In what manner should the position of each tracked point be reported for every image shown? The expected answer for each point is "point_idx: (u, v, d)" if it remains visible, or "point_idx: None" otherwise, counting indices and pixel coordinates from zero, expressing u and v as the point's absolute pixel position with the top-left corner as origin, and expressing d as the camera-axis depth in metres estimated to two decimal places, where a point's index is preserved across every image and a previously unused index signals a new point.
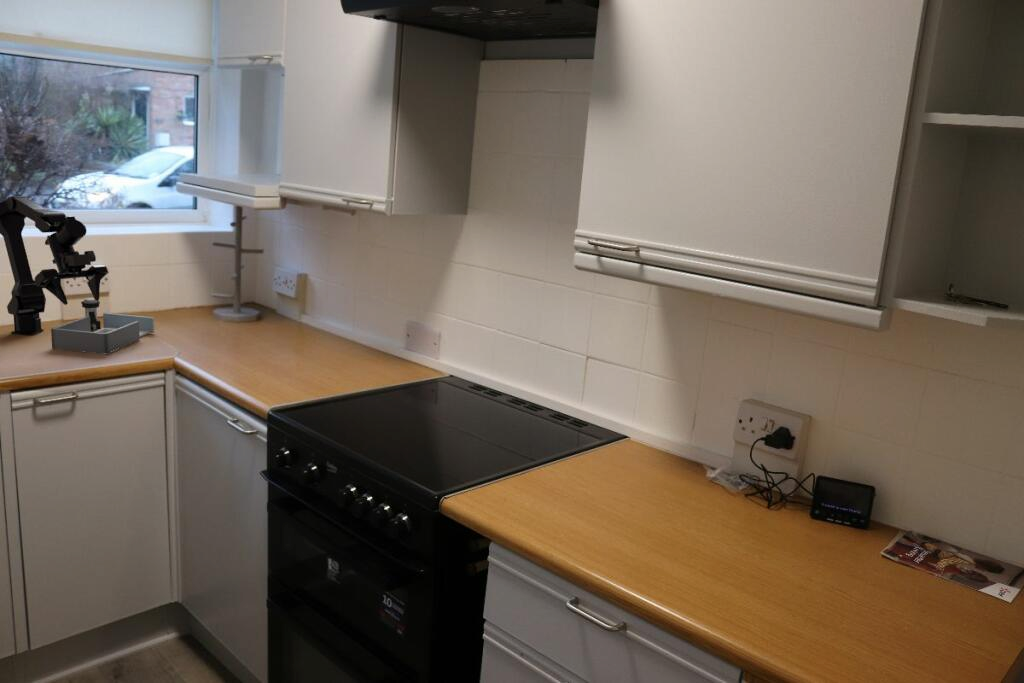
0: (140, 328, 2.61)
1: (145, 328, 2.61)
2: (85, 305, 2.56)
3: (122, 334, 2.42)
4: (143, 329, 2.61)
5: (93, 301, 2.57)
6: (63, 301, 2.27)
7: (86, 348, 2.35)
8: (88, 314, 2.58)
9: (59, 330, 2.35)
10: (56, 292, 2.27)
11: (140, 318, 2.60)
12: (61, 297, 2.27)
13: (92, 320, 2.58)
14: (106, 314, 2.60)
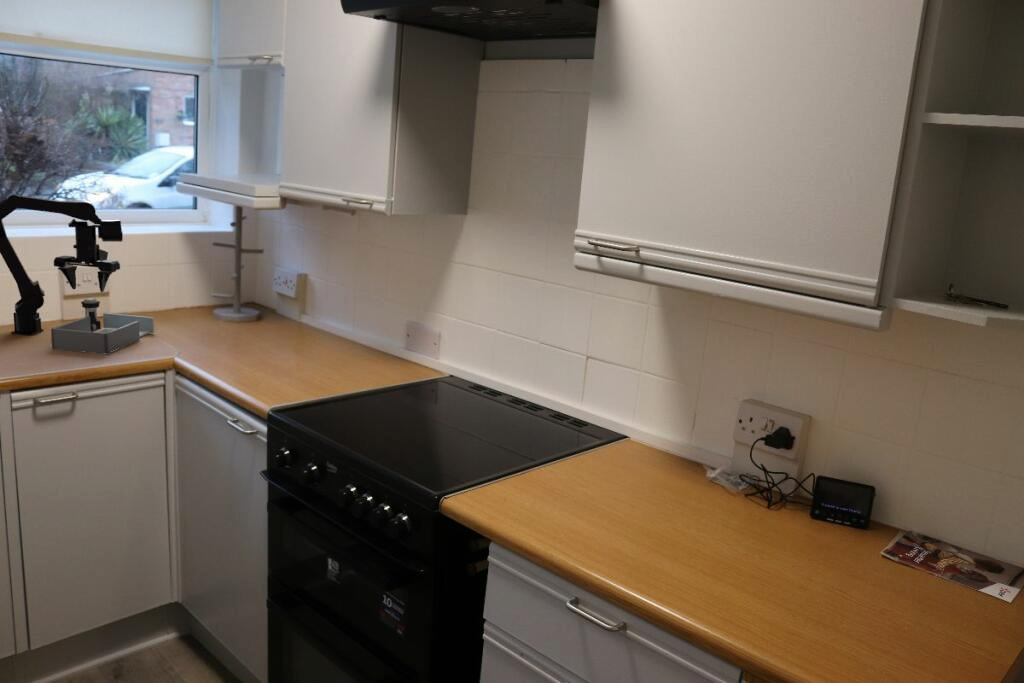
0: (140, 328, 2.61)
1: (145, 328, 2.61)
2: (85, 305, 2.56)
3: (122, 334, 2.42)
4: (143, 329, 2.61)
5: (93, 301, 2.57)
6: (103, 289, 2.56)
7: (86, 348, 2.35)
8: (88, 314, 2.58)
9: (59, 330, 2.35)
10: (104, 280, 2.55)
11: (140, 318, 2.60)
12: (104, 285, 2.56)
13: (92, 320, 2.58)
14: (106, 314, 2.60)
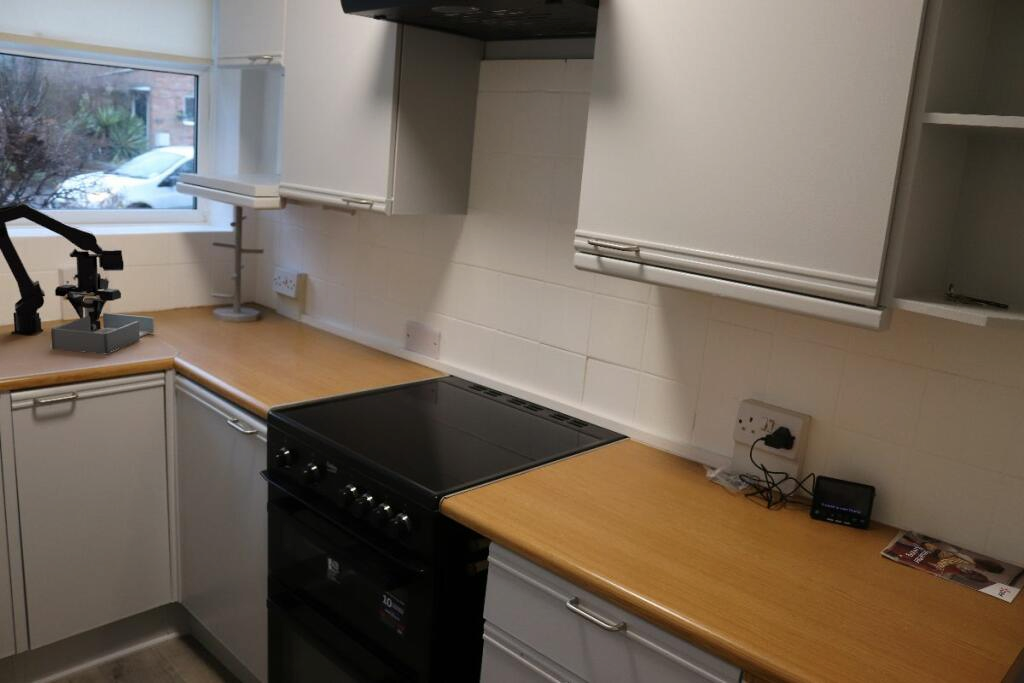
0: (140, 328, 2.61)
1: (145, 328, 2.61)
2: (85, 305, 2.56)
3: (122, 334, 2.42)
4: (143, 329, 2.61)
5: None
6: (98, 317, 2.58)
7: (86, 348, 2.35)
8: (88, 314, 2.58)
9: (59, 330, 2.35)
10: (99, 308, 2.57)
11: (140, 318, 2.60)
12: (99, 313, 2.58)
13: (92, 320, 2.58)
14: (106, 314, 2.60)
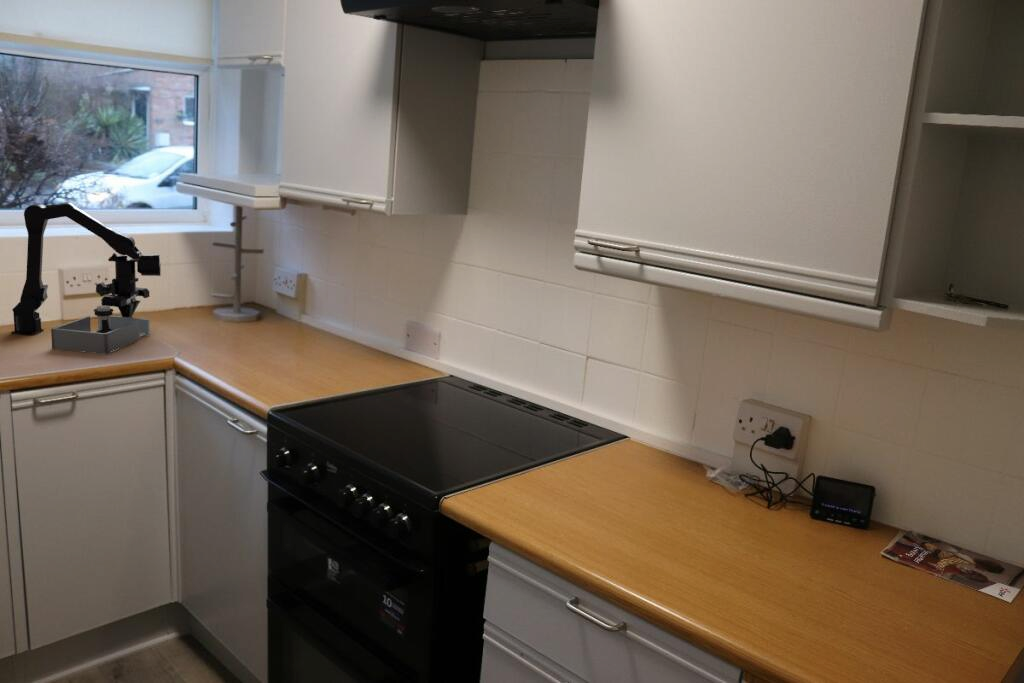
0: None
1: (141, 330, 2.58)
2: (98, 313, 2.43)
3: (122, 334, 2.42)
4: (139, 331, 2.58)
5: (106, 309, 2.45)
6: None
7: (86, 348, 2.35)
8: (101, 322, 2.45)
9: (59, 330, 2.35)
10: None
11: (136, 320, 2.57)
12: None
13: (105, 329, 2.46)
14: None
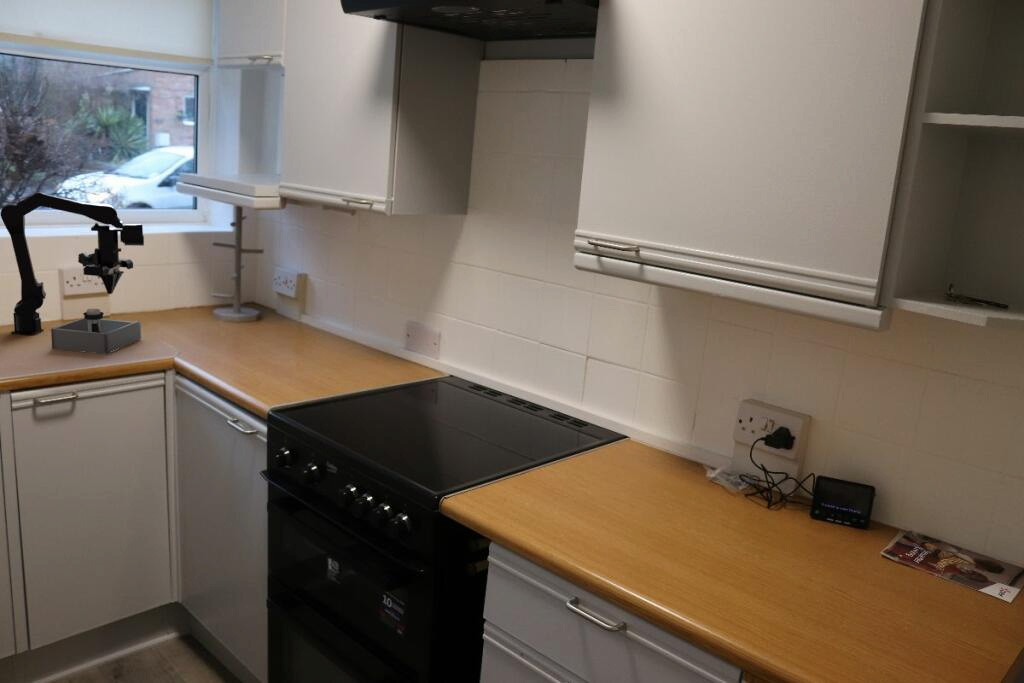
0: None
1: None
2: (88, 316, 2.38)
3: (122, 334, 2.42)
4: None
5: (96, 312, 2.40)
6: None
7: (86, 348, 2.35)
8: (91, 326, 2.40)
9: (59, 330, 2.35)
10: None
11: (127, 323, 2.52)
12: None
13: None
14: None
